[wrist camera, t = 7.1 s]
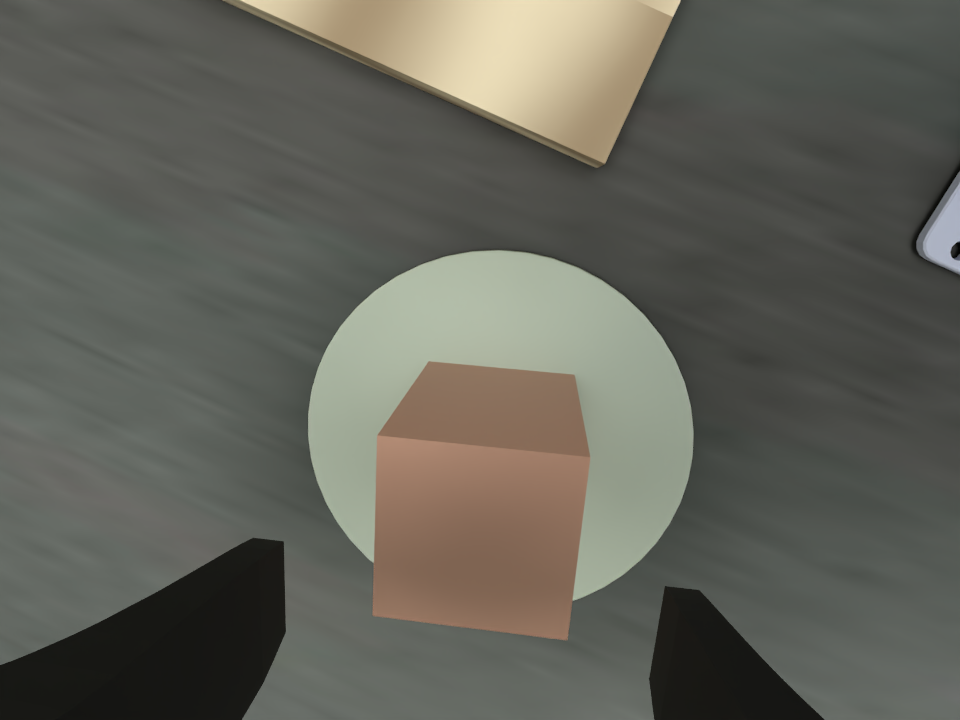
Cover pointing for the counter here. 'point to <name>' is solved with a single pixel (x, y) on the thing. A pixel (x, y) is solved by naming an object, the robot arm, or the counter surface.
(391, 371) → the sage coaster
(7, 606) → the counter surface
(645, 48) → the maple pocket holder
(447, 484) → the terracotta block
